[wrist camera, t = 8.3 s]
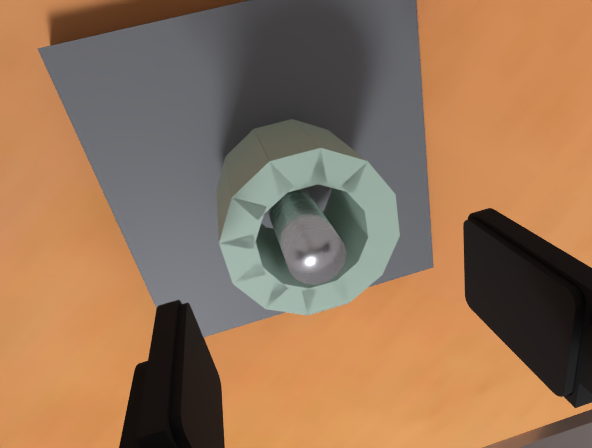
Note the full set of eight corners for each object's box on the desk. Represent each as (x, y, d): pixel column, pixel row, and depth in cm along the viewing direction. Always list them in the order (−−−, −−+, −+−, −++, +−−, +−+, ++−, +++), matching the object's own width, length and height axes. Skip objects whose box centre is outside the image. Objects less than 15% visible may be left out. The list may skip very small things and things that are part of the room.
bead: (200, 142, 17) (197, 180, 13) (343, 105, 18) (389, 129, 13) (239, 266, 20) (249, 332, 16) (362, 232, 21) (404, 286, 16)
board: (50, 47, 18) (37, 48, 16) (399, -33, 19) (413, -38, 18) (175, 329, 25) (173, 346, 23) (421, 255, 26) (433, 267, 25)
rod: (252, 167, 20) (281, 240, 13) (292, 157, 20) (341, 223, 13) (262, 204, 21) (294, 291, 14) (300, 193, 21) (350, 274, 14)
